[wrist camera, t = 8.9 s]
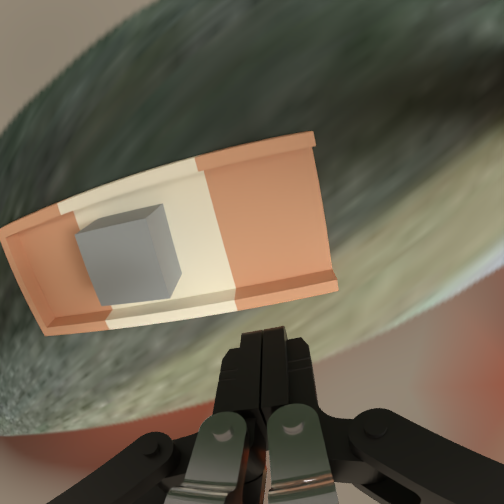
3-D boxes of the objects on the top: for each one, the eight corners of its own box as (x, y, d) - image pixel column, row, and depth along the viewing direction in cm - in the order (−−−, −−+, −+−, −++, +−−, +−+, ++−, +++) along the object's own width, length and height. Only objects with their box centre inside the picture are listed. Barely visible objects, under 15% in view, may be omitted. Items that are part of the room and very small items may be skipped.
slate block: (163, 203, 23) (145, 218, 20) (182, 273, 25) (170, 298, 22) (98, 218, 24) (74, 234, 20) (119, 282, 26) (101, 306, 22)
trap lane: (307, 130, 22) (313, 131, 19) (332, 276, 26) (338, 290, 24) (11, 222, 25) (-4, 230, 22) (55, 323, 29) (45, 336, 27)
